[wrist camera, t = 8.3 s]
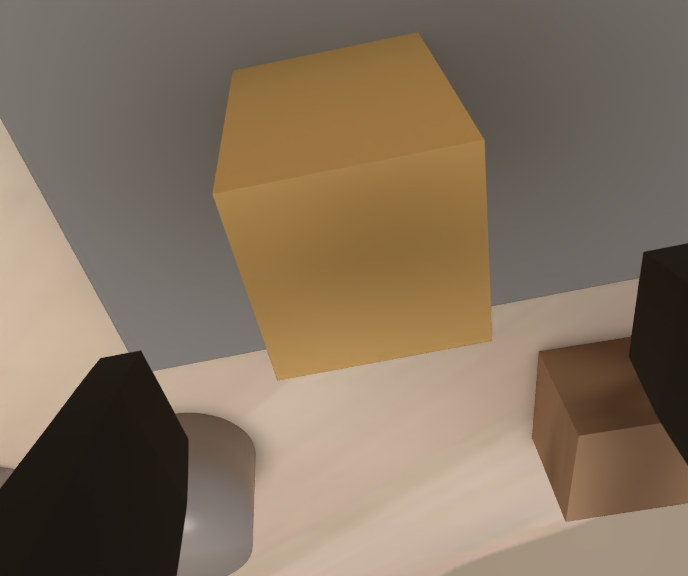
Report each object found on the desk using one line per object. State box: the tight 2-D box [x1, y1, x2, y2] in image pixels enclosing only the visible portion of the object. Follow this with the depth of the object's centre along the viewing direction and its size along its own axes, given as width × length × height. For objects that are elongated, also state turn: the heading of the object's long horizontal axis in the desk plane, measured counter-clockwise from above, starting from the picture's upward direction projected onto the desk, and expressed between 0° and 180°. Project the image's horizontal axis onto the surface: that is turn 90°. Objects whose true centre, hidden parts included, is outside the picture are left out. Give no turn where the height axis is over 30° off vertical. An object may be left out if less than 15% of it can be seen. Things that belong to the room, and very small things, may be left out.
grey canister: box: [175, 413, 256, 576], centre depth 23 cm, size 5×5×4 cm
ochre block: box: [213, 32, 492, 380], centre depth 14 cm, size 4×4×6 cm
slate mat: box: [0, 0, 688, 371], centre depth 16 cm, size 18×14×1 cm
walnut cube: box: [532, 337, 688, 522], centre depth 23 cm, size 5×5×4 cm
